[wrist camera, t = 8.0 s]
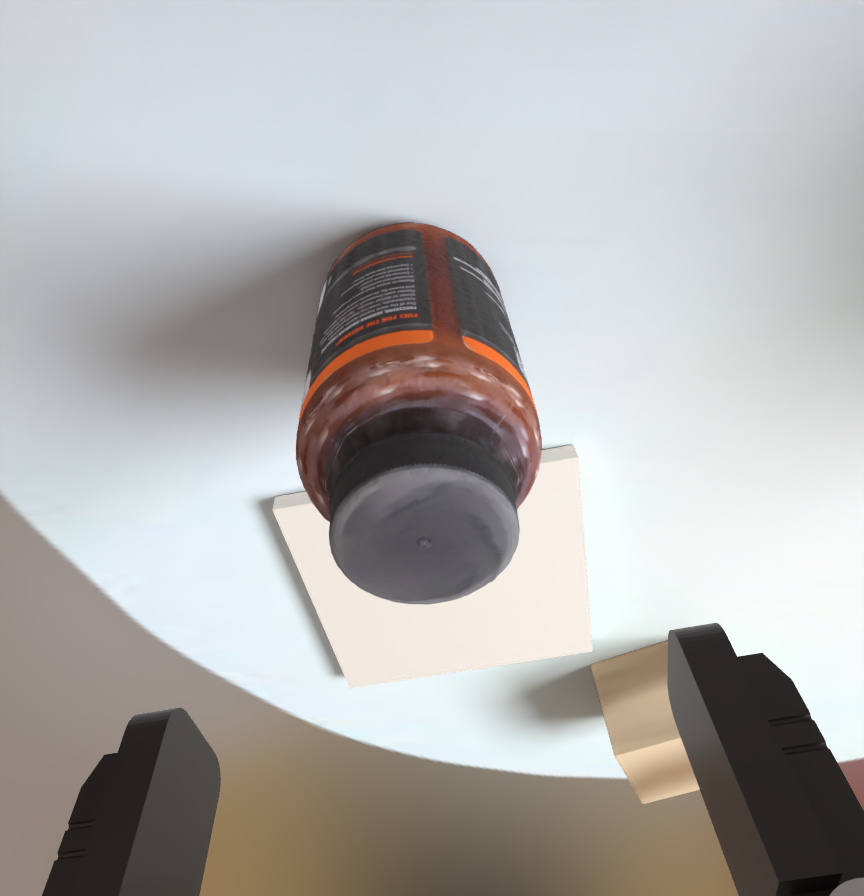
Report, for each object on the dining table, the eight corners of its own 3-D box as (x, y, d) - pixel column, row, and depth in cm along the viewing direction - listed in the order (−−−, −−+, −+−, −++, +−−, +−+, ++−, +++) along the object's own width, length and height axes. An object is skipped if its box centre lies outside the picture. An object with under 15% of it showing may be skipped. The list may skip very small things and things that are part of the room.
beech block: (589, 663, 36) (614, 756, 32) (686, 633, 35) (724, 725, 30) (617, 712, 38) (643, 803, 34) (707, 686, 37) (745, 777, 33)
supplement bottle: (286, 319, 24) (218, 564, 14) (393, 175, 21) (393, 363, 12) (425, 409, 26) (441, 668, 17) (536, 290, 23) (628, 520, 14)
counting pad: (275, 496, 28) (272, 510, 27) (573, 444, 27) (577, 457, 26) (350, 674, 35) (349, 688, 34) (589, 637, 34) (593, 651, 34)
